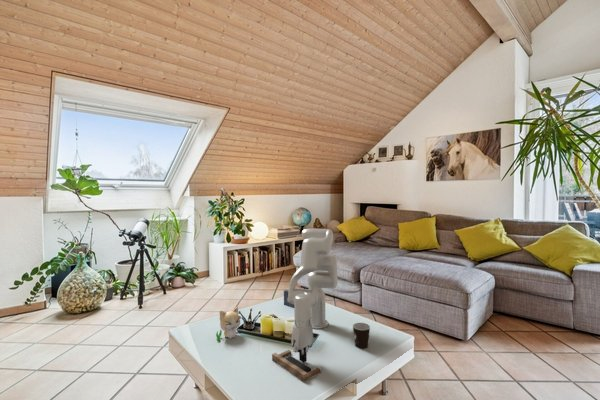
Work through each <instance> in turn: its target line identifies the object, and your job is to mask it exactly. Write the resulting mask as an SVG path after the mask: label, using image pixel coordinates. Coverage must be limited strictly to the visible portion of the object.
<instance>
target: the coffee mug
mask: <svg viewBox="0 0 600 400" xmlns="http://www.w3.org/2000/svg"><path fill="white" fill-rule="evenodd" d="M352 330H353V331H352V332H353V338H354V339H353V340H354V347H356V348H357V349H362V350H364V349H367V348H368V346H369V339H370V331H371V326H370V325H369V324H368V323H365V322H356V323H354V324H352Z"/></svg>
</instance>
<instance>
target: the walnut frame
mask: <svg viewBox="0 0 600 400" xmlns="http://www.w3.org/2000/svg"><path fill="white" fill-rule="evenodd" d="M291 355H292V351H291V350H289V349H287V350H285V351H283V352H281V353H279V354H278V353H277V352H274V353H272V354H271V356H272V357H271V360H272V362H274V363H275V364H277V365H278V366H279V367H281V368H283V369H284V370H286V371H287V372H289V373H290V374H292V375H293V376H294V377H295V378H298V379H299V380H300V381H302V382H303V383H305V382H307V381H309V380H310V379H312V378H314V377H315V376H317V375H319V374H321V372H322V370H321V368H320V367H318V366H317V367H316V368H313V369H311V371H309V372H308V373H306V372H305V371H303V370H302V369H300V368H299V367H297V366H296V365H294V364H292V363H291V362H289V361H288V360H286V359H285V358H287V357H289V356H291Z"/></svg>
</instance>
